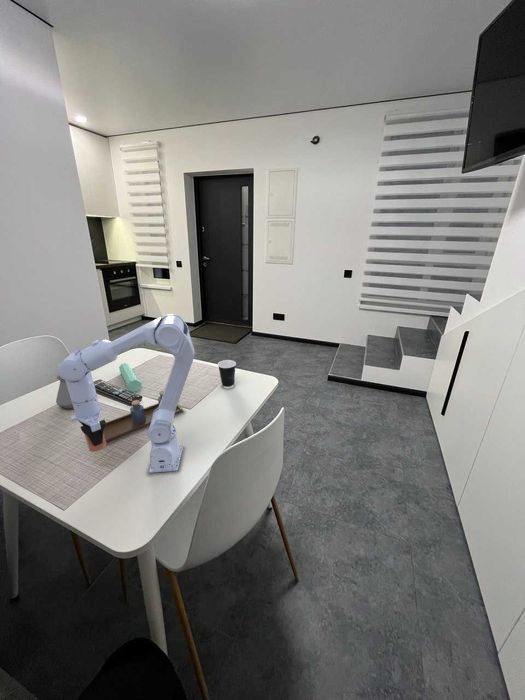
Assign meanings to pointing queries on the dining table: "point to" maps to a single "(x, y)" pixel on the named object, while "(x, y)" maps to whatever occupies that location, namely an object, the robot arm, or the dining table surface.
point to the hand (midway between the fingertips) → (96, 439)
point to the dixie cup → (227, 372)
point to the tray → (130, 424)
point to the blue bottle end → (160, 397)
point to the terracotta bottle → (91, 446)
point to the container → (130, 378)
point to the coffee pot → (63, 395)
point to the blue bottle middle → (137, 413)
